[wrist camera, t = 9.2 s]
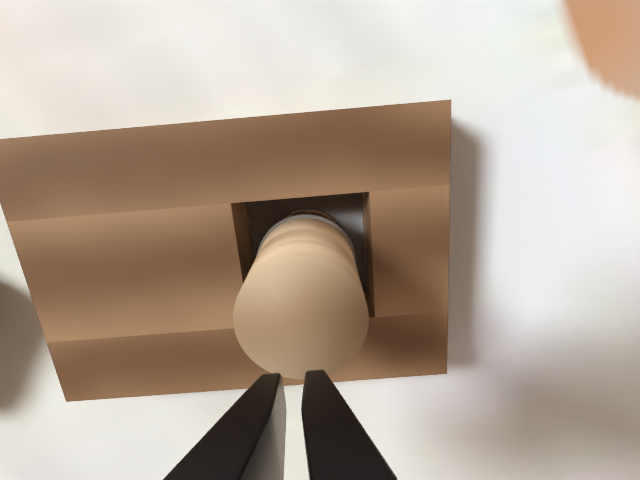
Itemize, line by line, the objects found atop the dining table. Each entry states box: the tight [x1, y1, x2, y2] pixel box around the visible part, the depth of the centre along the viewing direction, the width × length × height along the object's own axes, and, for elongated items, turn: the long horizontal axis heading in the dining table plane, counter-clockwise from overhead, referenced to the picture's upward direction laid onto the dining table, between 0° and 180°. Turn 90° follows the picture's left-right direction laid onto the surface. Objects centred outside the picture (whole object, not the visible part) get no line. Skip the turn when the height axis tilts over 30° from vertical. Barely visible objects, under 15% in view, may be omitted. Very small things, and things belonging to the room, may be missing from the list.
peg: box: [233, 209, 369, 379], centre depth 15 cm, size 4×4×8 cm
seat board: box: [0, 100, 451, 402], centre depth 17 cm, size 12×18×3 cm, turn 95°
